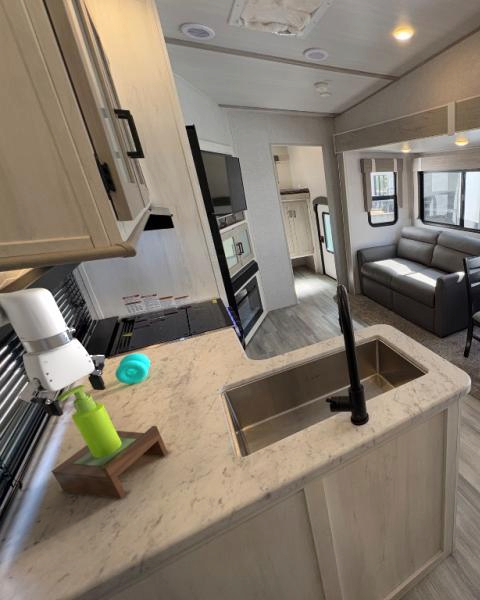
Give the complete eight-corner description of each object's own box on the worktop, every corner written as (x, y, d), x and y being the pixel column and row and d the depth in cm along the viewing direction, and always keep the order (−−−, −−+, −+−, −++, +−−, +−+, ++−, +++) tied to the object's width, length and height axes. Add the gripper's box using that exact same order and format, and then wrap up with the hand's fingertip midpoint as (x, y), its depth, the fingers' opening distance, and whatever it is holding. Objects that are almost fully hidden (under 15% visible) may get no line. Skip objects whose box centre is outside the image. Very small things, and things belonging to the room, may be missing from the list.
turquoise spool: (153, 369, 136) (146, 349, 132) (150, 380, 128) (142, 359, 124) (125, 377, 131) (116, 356, 128) (120, 388, 123) (110, 367, 119)
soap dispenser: (82, 459, 81) (47, 396, 74) (111, 439, 87) (81, 379, 80) (99, 462, 79) (65, 399, 72) (127, 442, 85) (98, 382, 78)
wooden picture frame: (63, 491, 80) (45, 462, 77) (117, 448, 93) (103, 421, 90) (121, 498, 78) (105, 468, 74) (168, 453, 90) (156, 425, 87)
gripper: (77, 325, 80) (103, 380, 86) (-16, 360, 64) (24, 425, 70) (101, 325, 79) (125, 381, 85) (12, 361, 63) (50, 427, 69)
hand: (79, 401), depth 77 cm, fingers open, 9 cm apart
